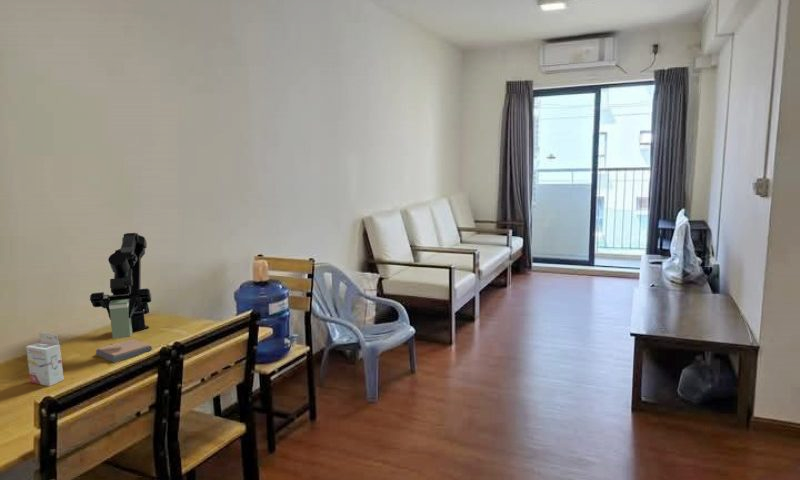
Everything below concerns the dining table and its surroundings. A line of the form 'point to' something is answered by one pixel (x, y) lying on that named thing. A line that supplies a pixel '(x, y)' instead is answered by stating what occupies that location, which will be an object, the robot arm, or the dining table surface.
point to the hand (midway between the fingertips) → (120, 318)
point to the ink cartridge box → (45, 361)
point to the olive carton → (120, 318)
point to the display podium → (123, 350)
